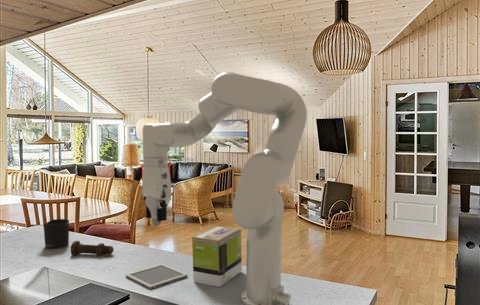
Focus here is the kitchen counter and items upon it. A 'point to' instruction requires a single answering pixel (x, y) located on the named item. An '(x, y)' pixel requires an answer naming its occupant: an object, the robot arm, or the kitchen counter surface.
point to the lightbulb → (153, 209)
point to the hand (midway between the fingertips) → (156, 218)
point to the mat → (156, 276)
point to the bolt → (90, 249)
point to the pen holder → (56, 233)
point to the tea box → (216, 255)
